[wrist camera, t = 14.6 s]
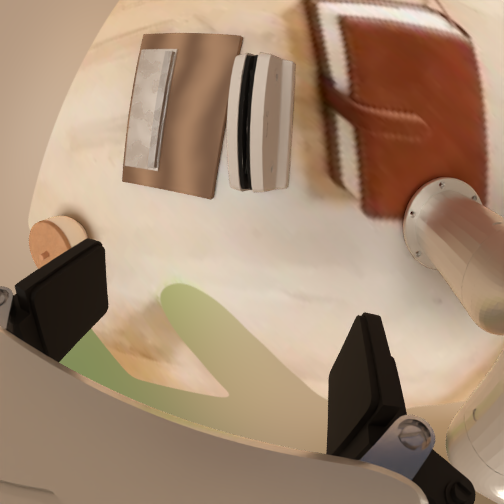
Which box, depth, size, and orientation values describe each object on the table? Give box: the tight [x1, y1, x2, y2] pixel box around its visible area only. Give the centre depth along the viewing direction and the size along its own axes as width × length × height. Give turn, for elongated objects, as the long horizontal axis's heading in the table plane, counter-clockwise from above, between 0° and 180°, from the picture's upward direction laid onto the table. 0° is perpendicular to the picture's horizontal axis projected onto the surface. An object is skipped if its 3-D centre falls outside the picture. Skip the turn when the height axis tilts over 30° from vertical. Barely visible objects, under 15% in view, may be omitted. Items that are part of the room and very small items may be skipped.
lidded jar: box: [29, 216, 88, 269], centre depth 44 cm, size 11×11×9 cm
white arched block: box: [227, 53, 295, 192], centre depth 31 cm, size 17×5×10 cm, turn 177°
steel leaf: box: [125, 49, 178, 171], centre depth 35 cm, size 6×17×1 cm, turn 169°
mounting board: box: [122, 33, 243, 199], centre depth 36 cm, size 14×22×1 cm, turn 169°
